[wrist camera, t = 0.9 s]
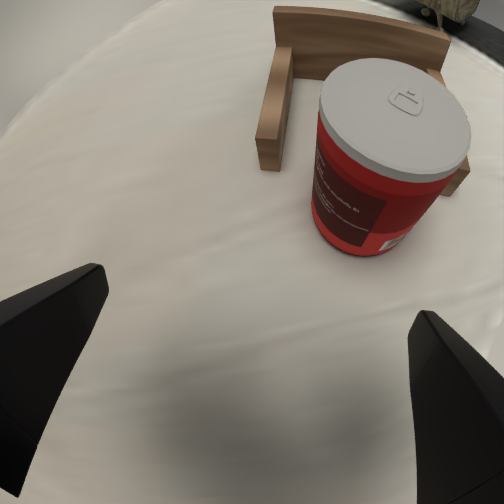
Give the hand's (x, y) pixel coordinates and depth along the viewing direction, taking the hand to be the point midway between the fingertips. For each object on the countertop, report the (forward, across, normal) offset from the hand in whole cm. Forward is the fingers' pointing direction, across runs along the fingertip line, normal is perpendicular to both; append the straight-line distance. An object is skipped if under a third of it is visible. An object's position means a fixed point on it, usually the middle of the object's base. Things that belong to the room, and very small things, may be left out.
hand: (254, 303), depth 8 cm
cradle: (+22, -6, -3) cm, 23 cm away
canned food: (+16, -6, +3) cm, 17 cm away
